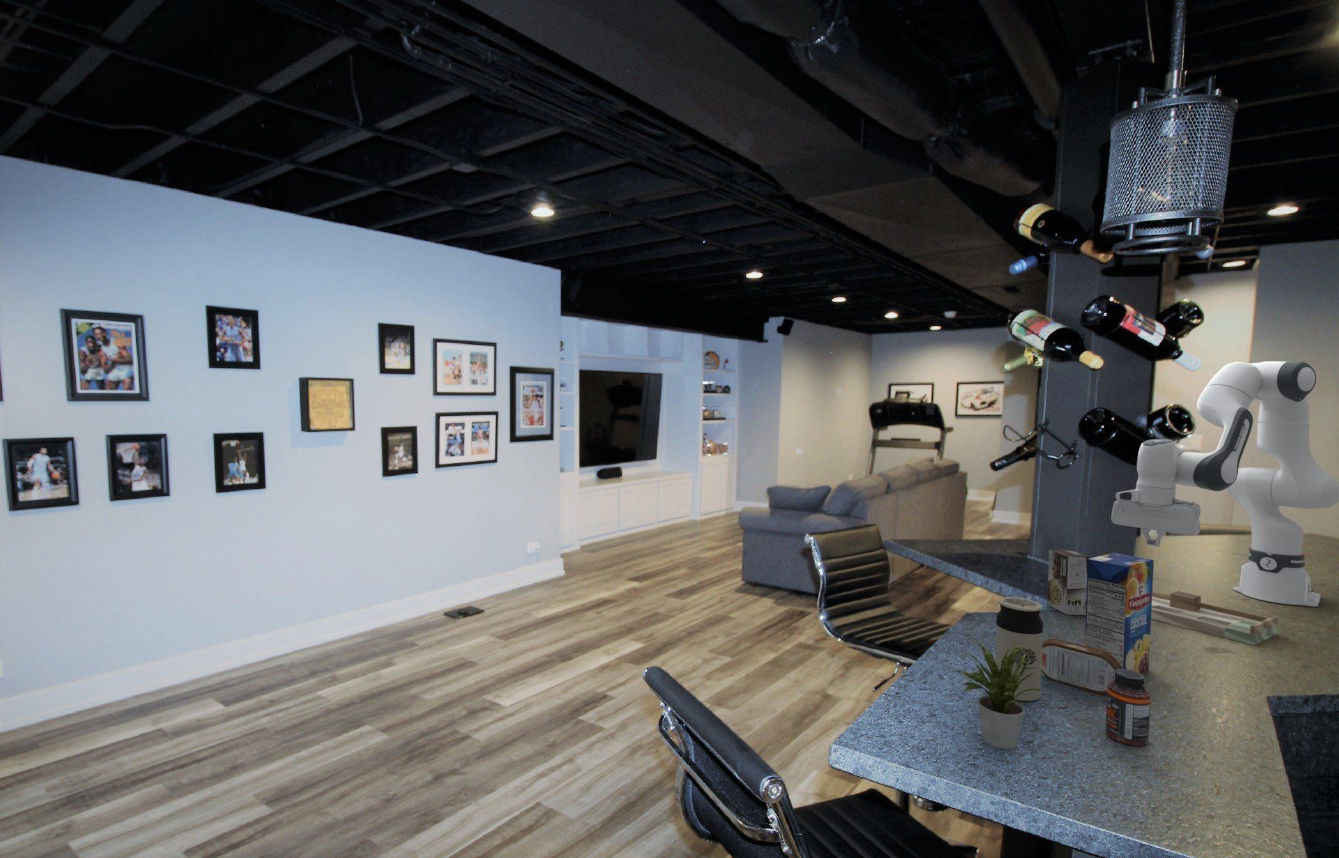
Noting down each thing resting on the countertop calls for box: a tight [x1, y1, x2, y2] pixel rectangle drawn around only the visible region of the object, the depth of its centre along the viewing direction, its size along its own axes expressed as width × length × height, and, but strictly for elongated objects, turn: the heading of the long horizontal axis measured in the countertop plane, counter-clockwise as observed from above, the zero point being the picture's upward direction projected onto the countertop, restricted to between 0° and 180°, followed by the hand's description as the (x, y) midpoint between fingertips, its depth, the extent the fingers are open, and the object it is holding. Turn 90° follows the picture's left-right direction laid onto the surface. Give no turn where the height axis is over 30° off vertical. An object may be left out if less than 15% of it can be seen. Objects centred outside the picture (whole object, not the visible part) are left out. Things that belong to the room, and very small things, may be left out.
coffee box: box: [1047, 549, 1092, 616], centre depth 174 cm, size 9×6×16 cm
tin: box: [1041, 638, 1122, 695], centre depth 126 cm, size 15×3×8 cm, turn 44°
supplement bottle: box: [1105, 669, 1151, 747], centre depth 106 cm, size 6×6×11 cm
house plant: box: [952, 638, 1046, 750], centre depth 106 cm, size 14×14×16 cm
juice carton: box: [1084, 552, 1155, 675], centre depth 134 cm, size 12×8×24 cm, turn 122°
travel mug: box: [994, 596, 1044, 702], centre depth 122 cm, size 8×8×18 cm
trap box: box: [1151, 591, 1279, 646], centre depth 166 cm, size 15×29×4 cm, turn 30°
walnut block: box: [1170, 590, 1202, 611], centre depth 170 cm, size 5×5×4 cm
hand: (1152, 545), depth 176 cm, fingers closed
